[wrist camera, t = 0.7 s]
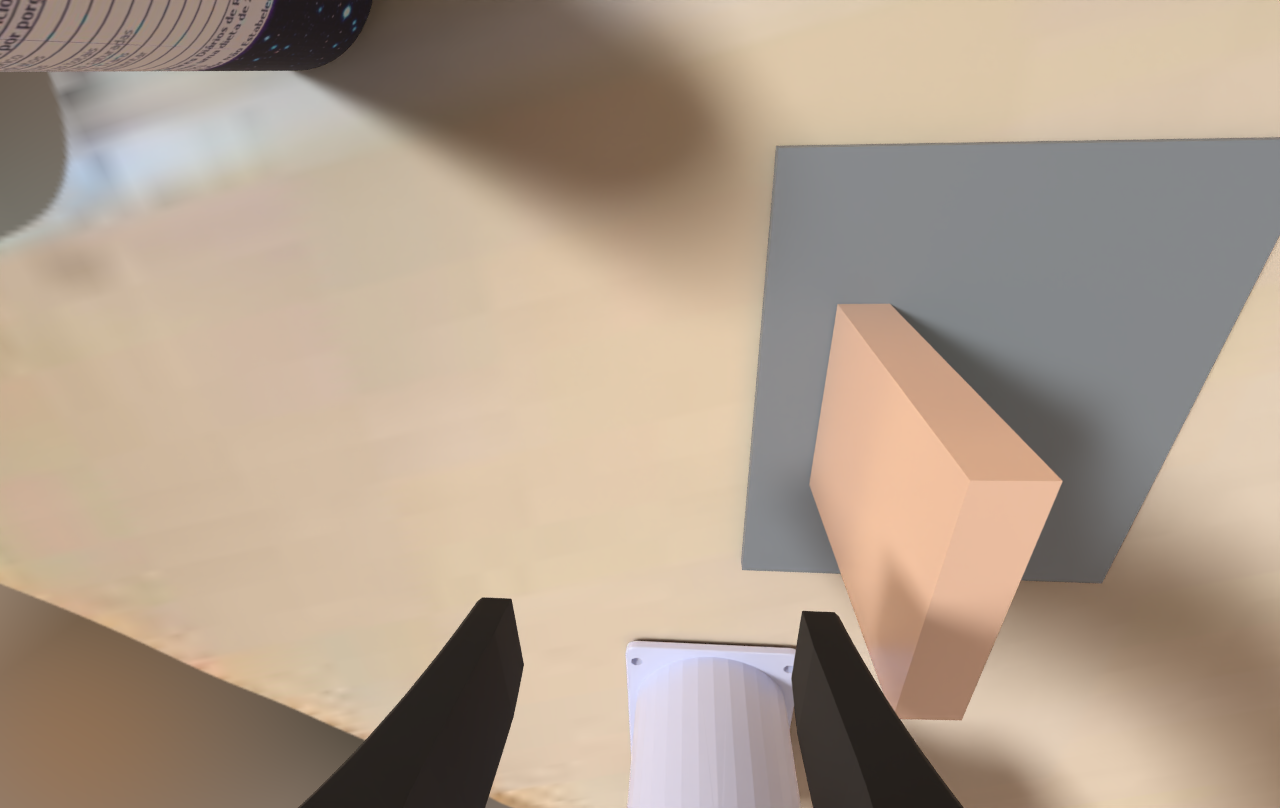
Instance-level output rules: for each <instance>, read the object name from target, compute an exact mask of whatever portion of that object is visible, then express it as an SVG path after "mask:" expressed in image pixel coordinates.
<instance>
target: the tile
mask: <svg viewBox="0 0 1280 808" xmlns="http://www.w3.org/2000/svg"><path fill="white" fill-rule="evenodd" d="M1062 482H1063V481H1062V480H1061V479H1060V478H1059V477H1058V476H1057V475H1056V474H1055V473H1054V472H1053V471H1052V470H1051V469H1050V468H1049V467H1048V465H1047V464H1046V463H1045V462H1044V461H1043V460H1042V459H1041V458H1040V457H1039V456H1038V455H1037V454H1036V453H1035V452H1034V451H1033V450H1032V449H1031V448H1030V447H1029V446H1028V445H1027V444H1026V443H1025V442H1024V441H1023V440H1022V439H1021V438H1020V437H1019V436H1018V435H1017V434H1016V433H1015V432H1014V431H1013V430H1012V429H1011V428H1010V426H1009V425H1008V424H1007V423H1006V422H1005V421H1004V420H1003V419H1002V418H1001V417H1000V416H999V415H998V414H997V413H996V412H995V411H994V410H993V409H992V408H991V407H990V406H989V405H988V404H987V403H986V402H985V401H984V400H983V399H982V398H981V397H980V396H979V395H978V394H977V393H976V392H975V391H974V390H973V389H972V387H971V386H970V385H969V384H968V383H967V382H966V381H965V380H964V379H963V378H962V377H961V376H960V375H959V374H958V373H957V372H956V371H955V370H954V369H953V368H952V367H951V366H950V365H949V364H948V363H947V362H946V361H945V360H944V359H943V358H942V357H941V356H940V355H939V354H938V353H937V352H936V351H935V350H934V349H933V347H932V346H931V345H930V344H929V343H928V342H927V341H926V340H925V339H924V338H923V337H922V336H921V335H920V334H919V333H918V332H917V331H916V330H915V329H914V328H913V327H912V326H911V325H910V324H909V323H908V322H907V321H906V320H905V319H904V318H903V317H902V316H901V315H900V314H899V313H898V312H897V311H896V310H895V308H894V307H893V306H892V305H891V304H837V311H836V317H835V324H834V330H833V336H832V343H831V349H830V355H829V362H828V368H827V374H826V381H825V387H824V394H823V400H822V406H821V413H820V419H819V425H818V432H817V438H816V444H815V451H814V457H813V464H812V470H811V476H810V483H809V485H810V488H811V491H812V494H813V497H814V499H815V502H816V505H817V508H818V511H819V514H820V516H821V519H822V522H823V525H824V528H825V530H826V533H827V536H828V539H829V542H830V544H831V547H832V550H833V553H834V556H835V558H836V561H837V564H838V567H839V570H840V573H841V575H842V578H843V581H844V584H845V587H846V589H847V592H848V595H849V598H850V601H851V603H852V606H853V609H854V612H855V615H856V617H857V620H858V623H859V626H860V629H861V632H862V634H863V637H864V640H865V643H866V646H867V648H868V651H869V654H870V657H871V660H872V662H873V665H874V668H875V671H876V674H877V676H878V679H879V682H880V685H881V688H882V691H883V693H884V696H885V697H886V699H887V700H888V702H889V703H890V705H891V706H892V708H893V709H894V711H895V713H896V714H897V716H898V717H899V719H925V720H962V718H963V716H964V713H965V711H966V709H967V706H968V704H969V702H970V699H971V697H972V694H973V692H974V690H975V687H976V685H977V683H978V680H979V678H980V676H981V673H982V671H983V668H984V666H985V664H986V661H987V659H988V657H989V654H990V652H991V650H992V647H993V645H994V642H995V640H996V638H997V635H998V633H999V631H1000V628H1001V626H1002V624H1003V621H1004V619H1005V616H1006V614H1007V612H1008V609H1009V607H1010V605H1011V602H1012V600H1013V598H1014V595H1015V593H1016V590H1017V588H1018V586H1019V583H1020V581H1021V579H1022V576H1023V574H1024V572H1025V569H1026V567H1027V564H1028V562H1029V560H1030V557H1031V555H1032V553H1033V550H1034V548H1035V546H1036V543H1037V541H1038V538H1039V536H1040V534H1041V531H1042V529H1043V527H1044V524H1045V522H1046V520H1047V517H1048V515H1049V512H1050V510H1051V508H1052V505H1053V503H1054V501H1055V498H1056V496H1057V493H1058V491H1059V489H1060V486H1061V484H1062Z"/></svg>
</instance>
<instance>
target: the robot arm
mask: <svg viewBox="0 0 1280 808" xmlns="http://www.w3.org/2000/svg"><path fill="white" fill-rule="evenodd" d="M523 666H524V663H523V658H522V653H521V647H520V642H519V637H518V631H517V626H516V620H515V615H514V610H513V604H512V599H505V598H481V599H480V600H479V601H477V603H476V604H475V606H474V607H473V608H472V610H471V611H470V613H469V614H468V615H467V617H466V618H465V619H464V621H463V622H462V623H461V625H460V626H459V628H458V629H457V630H456V632H455V633H454V634H453V636H452V637H451V638H450V640H449V641H448V642H447V643H446V645H445V646H444V647H443V649H442V650H441V651H440V653H439V654H438V655H437V656H436V658H435V659H434V660H433V661H432V663H431V664H430V665H429V666H428V668H427V669H426V670H425V671H424V673H423V674H422V675H421V676H420V678H419V679H418V680H417V681H416V682H415V684H414V685H413V686H412V687H411V689H410V690H409V691H408V692H407V694H406V695H405V696H404V697H403V698H402V699H401V701H400V702H399V703H398V704H397V705H396V706H395V707H394V709H393V710H392V711H391V712H390V713H389V714H388V715H387V717H386V718H385V719H384V720H383V721H382V722H381V723H380V724H379V726H378V727H377V728H376V729H375V730H374V731H373V732H372V733H371V735H370V736H369V737H368V738H367V739H366V740H365V741H364V742H363V744H361V745H360V747H359V748H358V749H357V750H356V751H355V752H354V753H353V754H352V755H351V756H350V757H349V758H348V759H347V760H346V761H345V762H344V763H343V764H342V766H340V767H339V768H338V770H337V771H336V772H334V774H332V776H330V778H329V779H327V781H325V782H324V783H323V784H322V785H321V786H320V787H319V789H317V791H315V792H314V793H313V794H312V795H311V796H310V797H309V798H308V799H307V800H306V801H305V802H304V803H303V804H302V805H300V806H299V807H298V808H485V806H486V803H487V800H488V797H489V794H490V790H491V787H492V784H493V781H494V778H495V775H496V771H497V768H498V765H499V762H500V759H501V756H502V752H503V749H504V746H505V743H506V740H507V736H508V733H509V730H510V727H511V723H512V720H513V716H514V711H515V707H516V702H517V697H518V692H519V687H520V682H521V677H522V672H523ZM626 666H627V685H628V703H629V722H630V741H631V769H630V781H629V792H628V804H627V808H801V803H800V796H799V790H798V783H797V777H796V770H795V763H794V757H793V750H792V743H791V737H790V725H791V720H792V714H793V708H794V709H795V717H796V726H797V734H798V739H799V744H800V748H801V753H802V758H803V762H804V767H805V772H806V776H807V781H808V786H809V790H810V795H811V799H812V804H813V808H963V806H962V805H961V804H960V802H959V801H958V800H957V799H956V797H955V796H954V795H953V793H952V792H951V791H950V789H949V788H948V787H947V785H946V784H945V783H944V781H943V780H942V779H941V777H940V776H939V775H938V773H937V772H936V770H935V769H934V768H933V766H932V765H931V763H930V762H929V761H928V759H927V758H926V757H925V755H924V754H923V752H922V751H921V750H920V748H919V747H918V745H917V744H916V742H915V741H914V739H913V738H912V737H911V735H910V734H909V732H908V731H907V729H906V728H905V726H904V725H903V723H902V722H901V720H900V719H899V717H898V716H897V714H896V713H895V711H894V709H893V708H892V706H891V705H890V703H889V702H888V700H887V699H886V697H885V696H884V694H883V693H882V691H881V689H880V688H879V686H878V685H877V683H876V681H875V680H874V678H873V676H872V675H871V673H870V671H869V670H868V668H867V666H866V665H865V663H864V661H863V660H862V658H861V656H860V654H859V653H858V651H857V649H856V647H855V646H854V644H853V642H852V640H851V638H850V637H849V635H848V633H847V631H846V629H845V627H844V625H843V623H842V622H841V620H840V618H839V616H838V615H837V614H836V613H834V612H814V611H802V616H801V622H800V628H799V634H798V640H797V646H796V649H793V648H778V647H757V646H736V645H714V644H693V643H672V642H650V641H632V642H630V643H629V644H628V645H627V647H626Z"/></svg>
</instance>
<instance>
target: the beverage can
mask: <svg viewBox="0 0 1280 808" xmlns="http://www.w3.org/2000/svg"><path fill="white" fill-rule="evenodd" d="M372 1H373V0H0V72H66V71H293V70H308V69H312V68H316V67H319V66H322V65H325V64H327V63H329V62H331V61H333V60H334V59H336V58H337V57H339V56H340V55H341V54H343V53H344V52H345V51H346V50H347V49H348V48H349V47H350V46H351V45H352V43H353V42H354V41H355V39H356V38H357V37H358V35H359V34H360V32H361V30H362V28H363V26H364V24H365V22H366V20H367V17H368V15H369V12H370V8H371V5H372Z"/></svg>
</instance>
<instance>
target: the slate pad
mask: <svg viewBox="0 0 1280 808" xmlns="http://www.w3.org/2000/svg"><path fill="white" fill-rule="evenodd" d="M1279 235H1280V137H1276V138H1216V139H1157V140H1097V141H1038V142H978V143H919V144H859V145H800V146H776V155H775V167H774V179H773V191H772V203H771V215H770V226H769V238H768V250H767V262H766V274H765V286H764V298H763V309H762V321H761V333H760V345H759V357H758V369H757V381H756V392H755V404H754V416H753V428H752V440H751V452H750V464H749V475H748V487H747V499H746V511H745V523H744V535H743V547H742V558H741V563H742V570H756V571H783V572H810V573H836V574H841V573H840V570H839V567H838V564H837V561H836V558H835V556H834V553H833V550H832V547H831V544H830V542H829V539H828V536H827V533H826V530H825V528H824V525H823V522H822V519H821V516H820V514H819V511H818V508H817V505H816V502H815V499H814V497H813V494H812V491H811V488H810V485H809V483H810V476H811V470H812V464H813V457H814V451H815V444H816V438H817V432H818V425H819V419H820V413H821V406H822V400H823V394H824V387H825V381H826V374H827V368H828V362H829V355H830V349H831V343H832V336H833V330H834V324H835V317H836V311H837V304H891V305H892V306H893V307H894V308H895V310H896V311H897V312H898V313H899V314H900V315H901V316H902V317H903V318H904V319H905V320H906V321H907V322H908V323H909V324H910V325H911V326H912V327H913V328H914V329H915V330H916V331H917V332H918V333H919V334H920V335H921V336H922V337H923V338H924V339H925V340H926V341H927V342H928V343H929V344H930V345H931V346H932V347H933V349H934V350H935V351H936V352H937V353H938V354H939V355H940V356H941V357H942V358H943V359H944V360H945V361H946V362H947V363H948V364H949V365H950V366H951V367H952V368H953V369H954V370H955V371H956V372H957V373H958V374H959V375H960V376H961V377H962V378H963V379H964V380H965V381H966V382H967V383H968V384H969V385H970V386H971V387H972V389H973V390H974V391H975V392H976V393H977V394H978V395H979V396H980V397H981V398H982V399H983V400H984V401H985V402H986V403H987V404H988V405H989V406H990V407H991V408H992V409H993V410H994V411H995V412H996V413H997V414H998V415H999V416H1000V417H1001V418H1002V419H1003V420H1004V421H1005V422H1006V423H1007V424H1008V425H1009V426H1010V428H1011V429H1012V430H1013V431H1014V432H1015V433H1016V434H1017V435H1018V436H1019V437H1020V438H1021V439H1022V440H1023V441H1024V442H1025V443H1026V444H1027V445H1028V446H1029V447H1030V448H1031V449H1032V450H1033V451H1034V452H1035V453H1036V454H1037V455H1038V456H1039V457H1040V458H1041V459H1042V460H1043V461H1044V462H1045V463H1046V464H1047V465H1048V467H1049V468H1050V469H1051V470H1052V471H1053V472H1054V473H1055V474H1056V475H1057V476H1058V477H1059V478H1060V479H1061V480H1062V481H1063V482H1062V484H1061V486H1060V489H1059V491H1058V493H1057V496H1056V498H1055V501H1054V503H1053V505H1052V508H1051V510H1050V512H1049V515H1048V517H1047V520H1046V522H1045V524H1044V527H1043V529H1042V531H1041V534H1040V536H1039V538H1038V541H1037V543H1036V546H1035V548H1034V550H1033V553H1032V555H1031V557H1030V560H1029V562H1028V564H1027V567H1026V569H1025V572H1024V574H1023V576H1022V579H1021V580H1025V581H1052V582H1079V583H1102V582H1103V580H1104V578H1105V576H1106V574H1107V572H1108V570H1109V568H1110V566H1111V564H1112V563H1113V561H1114V559H1115V557H1116V555H1117V553H1118V551H1119V549H1120V547H1121V545H1122V543H1123V541H1124V539H1125V537H1126V535H1127V533H1128V531H1129V529H1130V527H1131V525H1132V523H1133V521H1134V519H1135V517H1136V516H1137V514H1138V512H1139V510H1140V508H1141V506H1142V504H1143V502H1144V500H1145V498H1146V496H1147V494H1148V492H1149V490H1150V488H1151V486H1152V484H1153V482H1154V480H1155V478H1156V476H1157V474H1158V472H1159V470H1160V469H1161V467H1162V465H1163V463H1164V461H1165V459H1166V457H1167V455H1168V453H1169V451H1170V449H1171V447H1172V445H1173V443H1174V441H1175V439H1176V437H1177V435H1178V433H1179V431H1180V429H1181V427H1182V425H1183V423H1184V422H1185V420H1186V418H1187V416H1188V414H1189V412H1190V410H1191V408H1192V406H1193V404H1194V402H1195V400H1196V398H1197V396H1198V394H1199V392H1200V390H1201V388H1202V386H1203V384H1204V382H1205V380H1206V378H1207V376H1208V375H1209V373H1210V371H1211V369H1212V367H1213V365H1214V363H1215V361H1216V359H1217V357H1218V355H1219V353H1220V351H1221V349H1222V347H1223V345H1224V343H1225V341H1226V339H1227V337H1228V335H1229V333H1230V331H1231V329H1232V327H1233V326H1234V324H1235V322H1236V320H1237V318H1238V316H1239V314H1240V312H1241V310H1242V308H1243V306H1244V304H1245V302H1246V300H1247V298H1248V296H1249V294H1250V292H1251V290H1252V288H1253V286H1254V284H1255V282H1256V280H1257V279H1258V277H1259V275H1260V273H1261V271H1262V269H1263V267H1264V265H1265V263H1266V261H1267V259H1268V257H1269V255H1270V253H1271V251H1272V249H1273V247H1274V245H1275V243H1276V241H1277V239H1278V237H1279Z"/></svg>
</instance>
